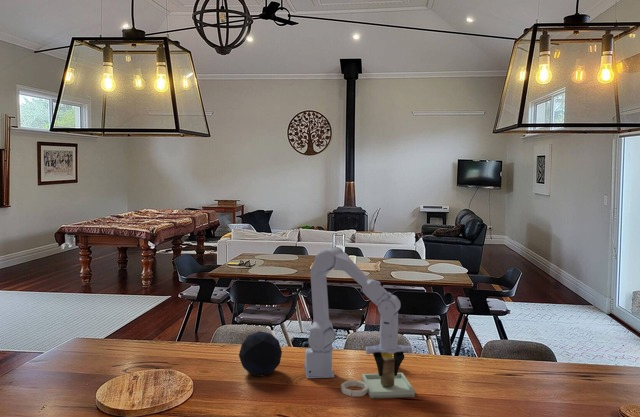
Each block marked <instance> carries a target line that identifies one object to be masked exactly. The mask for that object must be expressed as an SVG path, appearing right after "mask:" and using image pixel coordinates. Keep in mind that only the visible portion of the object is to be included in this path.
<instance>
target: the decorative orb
mask: <svg viewBox="0 0 640 417" xmlns="http://www.w3.org/2000/svg"><path fill="white" fill-rule="evenodd" d="M238 353H239V354H238V357H239V360H240V363H241V365H242V368H243V369H244V370H245V371H247V373H249V375H253V376H257V377H264V376H267V375H269V374H271V373H273V372H274V371H275V370H277V368H278V366H280V364H281V361H282V360H281V359H282V353H283V350H282V347H281V345H280V341H279V339H277V337H275V336H274V335H273V334H272V333H269V332H266V331H261V330H260V331H256V332H254V333H251V334H249V335H247V336H246V338H245V339H244V341H243V342H242V343H241V345H240V348H239V352H238Z"/></svg>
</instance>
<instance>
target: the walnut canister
mask: <svg viewBox="0 0 640 417" xmlns="http://www.w3.org/2000/svg"><path fill="white" fill-rule="evenodd" d="M394 376H395V359H394V357H393V358H391V357H383V362H382V376H381V385H383V386H393V385H394Z"/></svg>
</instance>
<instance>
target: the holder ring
mask: <svg viewBox="0 0 640 417" xmlns="http://www.w3.org/2000/svg"><path fill="white" fill-rule="evenodd" d="M349 387H359V388H362V389H355V390H354V389H351V388H349ZM340 390H341V393H342V394H343V395H346V396H349V397H364V396H365V395H367V394H368V387H367V385H366V383H364V382H363V381H362V380H351V379H350V380H345V381H344V382H342V383H341V384H340Z"/></svg>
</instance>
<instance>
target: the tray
mask: <svg viewBox="0 0 640 417" xmlns="http://www.w3.org/2000/svg"><path fill="white" fill-rule="evenodd" d="M361 382H364V383H366V385H367V387H368V393H367V394H368V395H369V398H370V399H391V398H392V399H393V398H411V397H412V398H415V396H416V390H415V389H414V387H413V385H412V384H411V383H410V382H409V379H407V377H406V376H405V374H404V372H398V373H397V376H394V385H393V386H383V385H381V376H379V374H378V372H377V373H361Z"/></svg>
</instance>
